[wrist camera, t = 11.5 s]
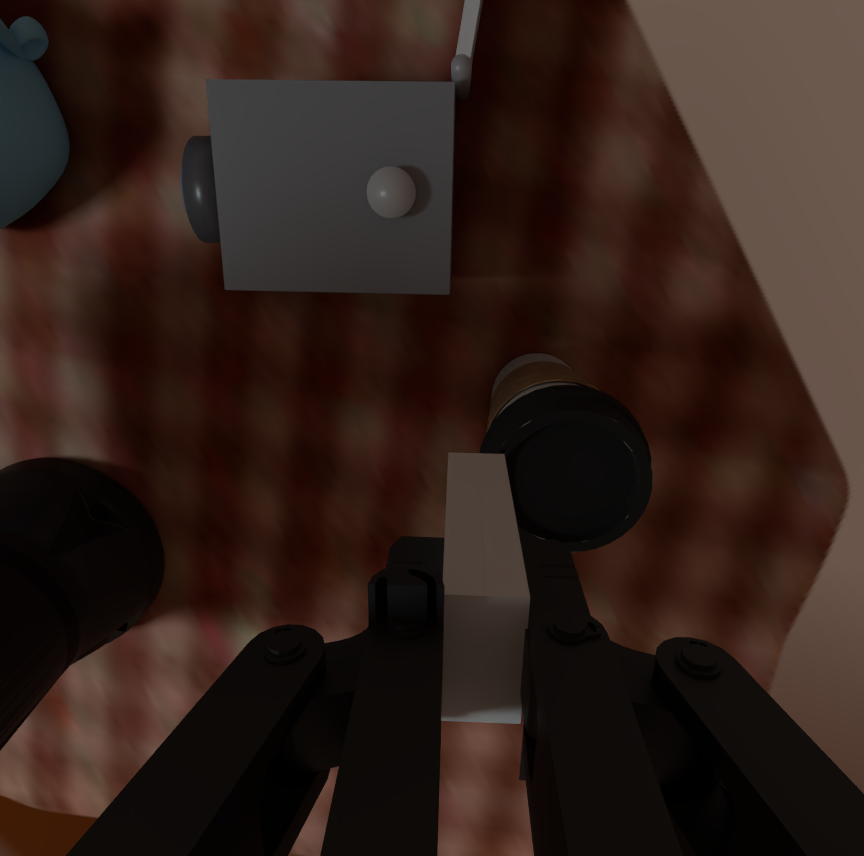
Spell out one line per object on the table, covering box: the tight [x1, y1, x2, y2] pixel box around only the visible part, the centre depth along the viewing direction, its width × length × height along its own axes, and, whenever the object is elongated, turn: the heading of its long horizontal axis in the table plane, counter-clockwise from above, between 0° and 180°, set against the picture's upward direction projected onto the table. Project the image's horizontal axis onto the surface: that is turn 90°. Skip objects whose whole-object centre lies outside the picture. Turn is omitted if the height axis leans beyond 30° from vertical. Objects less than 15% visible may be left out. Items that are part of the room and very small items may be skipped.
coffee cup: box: [480, 353, 652, 552], centre depth 37 cm, size 8×8×15 cm
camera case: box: [181, 79, 456, 295], centre depth 36 cm, size 14×10×9 cm
